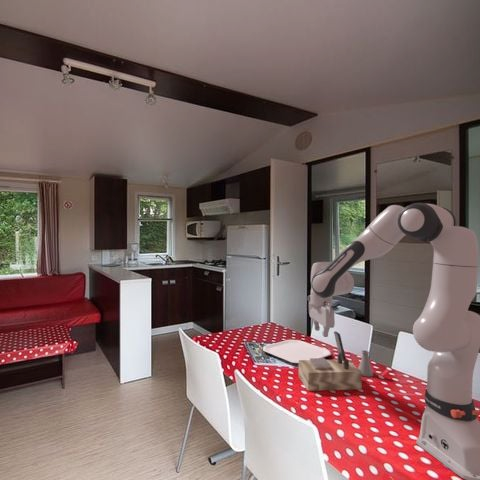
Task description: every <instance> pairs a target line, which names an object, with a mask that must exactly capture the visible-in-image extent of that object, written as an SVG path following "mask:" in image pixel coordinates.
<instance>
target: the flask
mask: <svg viewBox="0 0 480 480" xmlns="http://www.w3.org/2000/svg"><path fill="white" fill-rule="evenodd" d="M361 354H362V355H361V360H360V362H359V365H358V367H357V368H358V369H359V370H360V371H362V377H366V378H367V377H373V376H374V371H373V369H372V364H371V362H370V358H369V354H370V351H369V350H361Z"/></svg>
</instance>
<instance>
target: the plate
mask: <svg viewBox="0 0 480 480" xmlns="http://www.w3.org/2000/svg"><path fill="white" fill-rule="evenodd" d="M262 351H263V352H264V353H266V354H267V355H268V354H269V355H271V356H274V357H275V356H276V358H278V359H280V360H283V361H285V362H287V363H289V364H293V365H299V360H310V358H325V359H326V358H328V357H331V356H332V353H331V351H330V350H329V349H327V348H324V347H320V346H318V345H315V344H311V343H309V342H307V341H302V340H300V339H285V340H283V341H279V342H275V343H272V344H271V343H270V344H267V345H265V346H263V347H262Z"/></svg>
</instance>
